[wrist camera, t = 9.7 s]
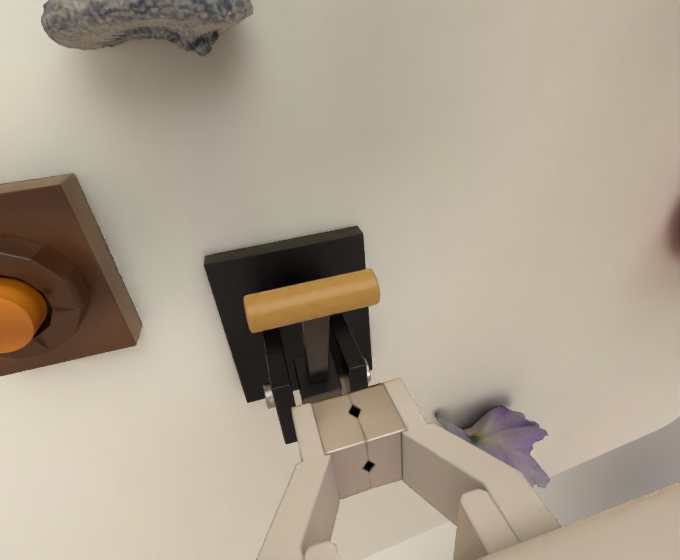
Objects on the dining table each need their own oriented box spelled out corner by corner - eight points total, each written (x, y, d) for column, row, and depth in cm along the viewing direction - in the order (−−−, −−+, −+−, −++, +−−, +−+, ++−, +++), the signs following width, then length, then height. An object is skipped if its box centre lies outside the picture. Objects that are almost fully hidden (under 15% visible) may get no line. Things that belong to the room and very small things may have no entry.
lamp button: (-48, 284, 18) (-72, 304, 16) (28, 270, 18) (11, 288, 17) (-10, 338, 20) (-28, 361, 18) (59, 323, 20) (46, 344, 19)
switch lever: (239, 278, 14) (248, 334, 13) (366, 251, 15) (387, 301, 14) (273, 382, 24) (281, 421, 22) (352, 362, 24) (363, 398, 23)
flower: (425, 505, 33) (543, 542, 32) (452, 407, 33) (569, 441, 32) (412, 459, 42) (503, 486, 41) (433, 382, 42) (524, 408, 42)
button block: (-104, 199, 19) (-175, 230, 15) (74, 172, 20) (45, 195, 17) (6, 354, 24) (-29, 403, 21) (142, 324, 25) (131, 365, 22)
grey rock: (66, 45, 18) (61, 94, 15) (19, -53, 15) (3, -17, 12) (244, 25, 20) (271, 64, 17) (231, -64, 17) (260, -36, 14)
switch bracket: (204, 255, 24) (197, 342, 17) (357, 225, 26) (411, 292, 19) (246, 391, 30) (254, 498, 23) (367, 359, 32) (411, 449, 25)
